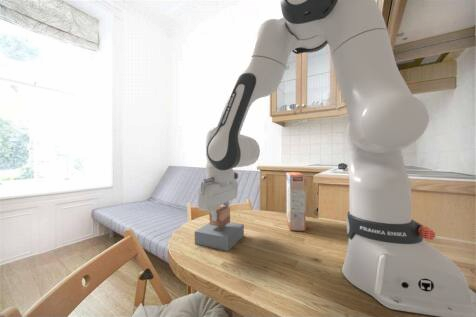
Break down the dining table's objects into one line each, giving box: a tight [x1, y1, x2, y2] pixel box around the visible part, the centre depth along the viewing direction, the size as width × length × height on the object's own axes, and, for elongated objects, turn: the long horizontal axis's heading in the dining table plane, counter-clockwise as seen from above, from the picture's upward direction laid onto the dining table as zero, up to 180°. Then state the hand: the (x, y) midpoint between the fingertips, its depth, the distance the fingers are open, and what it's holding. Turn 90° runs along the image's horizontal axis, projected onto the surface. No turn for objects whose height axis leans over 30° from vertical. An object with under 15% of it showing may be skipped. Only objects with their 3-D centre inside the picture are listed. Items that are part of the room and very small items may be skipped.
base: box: [194, 221, 245, 252], centre depth 65 cm, size 12×12×4 cm
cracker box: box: [285, 171, 306, 232], centre depth 78 cm, size 14×6×21 cm, turn 171°
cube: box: [209, 205, 231, 227], centre depth 65 cm, size 5×5×5 cm
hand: (220, 217), depth 65 cm, fingers closed on cube, 5 cm apart
